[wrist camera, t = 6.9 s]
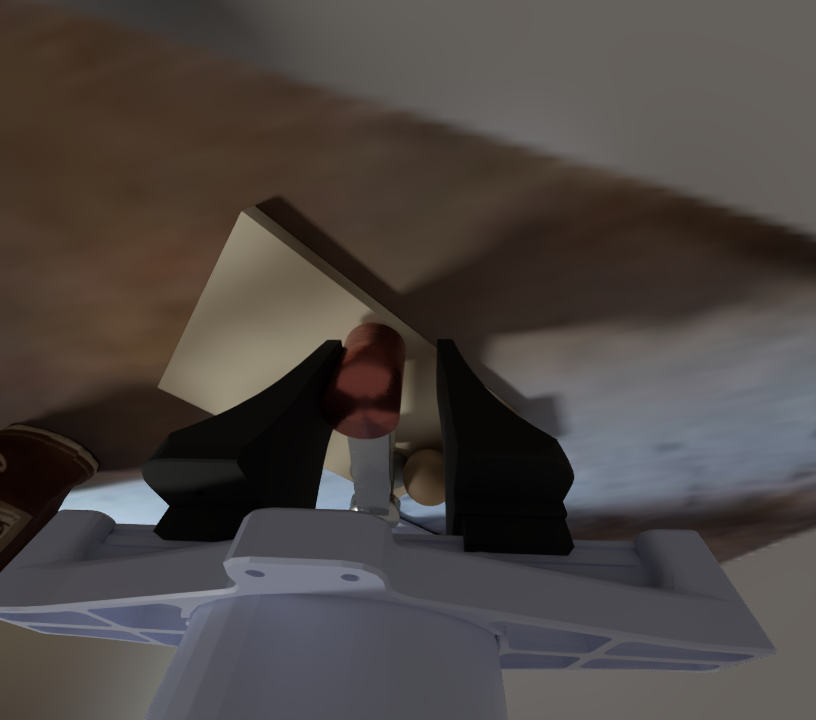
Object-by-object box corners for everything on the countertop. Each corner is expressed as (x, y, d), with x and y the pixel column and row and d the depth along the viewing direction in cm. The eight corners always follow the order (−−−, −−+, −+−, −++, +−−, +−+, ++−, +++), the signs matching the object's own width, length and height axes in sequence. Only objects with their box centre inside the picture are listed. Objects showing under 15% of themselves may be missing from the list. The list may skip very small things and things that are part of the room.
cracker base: (534, 424, 19) (557, 486, 15) (407, 495, 24) (404, 551, 21) (254, 205, 12) (188, 233, 9) (169, 375, 18) (111, 431, 14)
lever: (402, 483, 21) (397, 550, 18) (359, 480, 21) (346, 547, 18) (409, 322, 13) (403, 387, 10) (341, 318, 13) (311, 382, 10)
